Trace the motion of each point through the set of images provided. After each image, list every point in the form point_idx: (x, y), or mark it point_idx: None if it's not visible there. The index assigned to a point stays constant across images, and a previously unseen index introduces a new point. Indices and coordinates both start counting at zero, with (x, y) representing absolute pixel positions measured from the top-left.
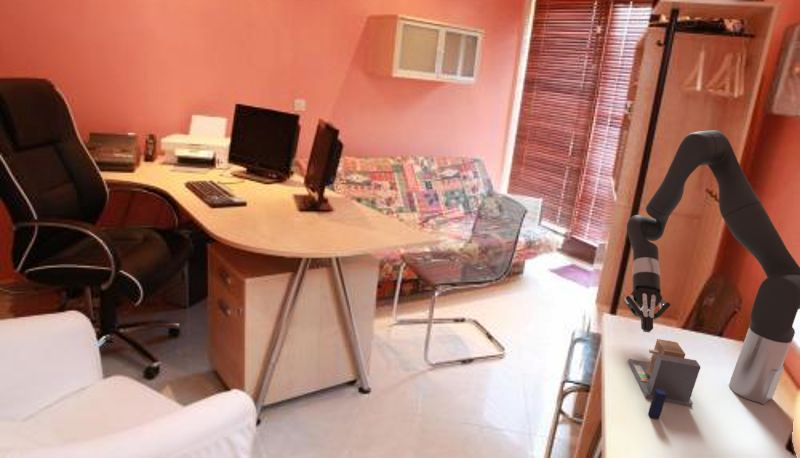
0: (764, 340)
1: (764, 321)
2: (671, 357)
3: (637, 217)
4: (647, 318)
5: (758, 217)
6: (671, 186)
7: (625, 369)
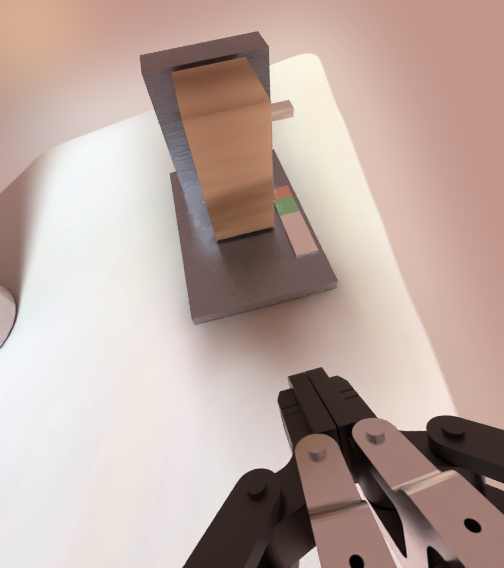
0: None
1: None
2: (224, 50)
3: None
4: (342, 421)
5: None
6: None
7: (335, 240)
